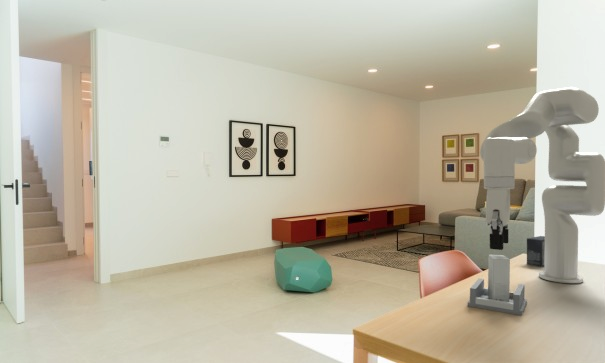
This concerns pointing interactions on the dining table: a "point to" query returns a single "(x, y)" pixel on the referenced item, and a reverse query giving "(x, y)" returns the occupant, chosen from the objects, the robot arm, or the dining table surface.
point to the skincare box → (498, 277)
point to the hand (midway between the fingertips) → (499, 245)
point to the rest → (483, 301)
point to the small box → (536, 251)
